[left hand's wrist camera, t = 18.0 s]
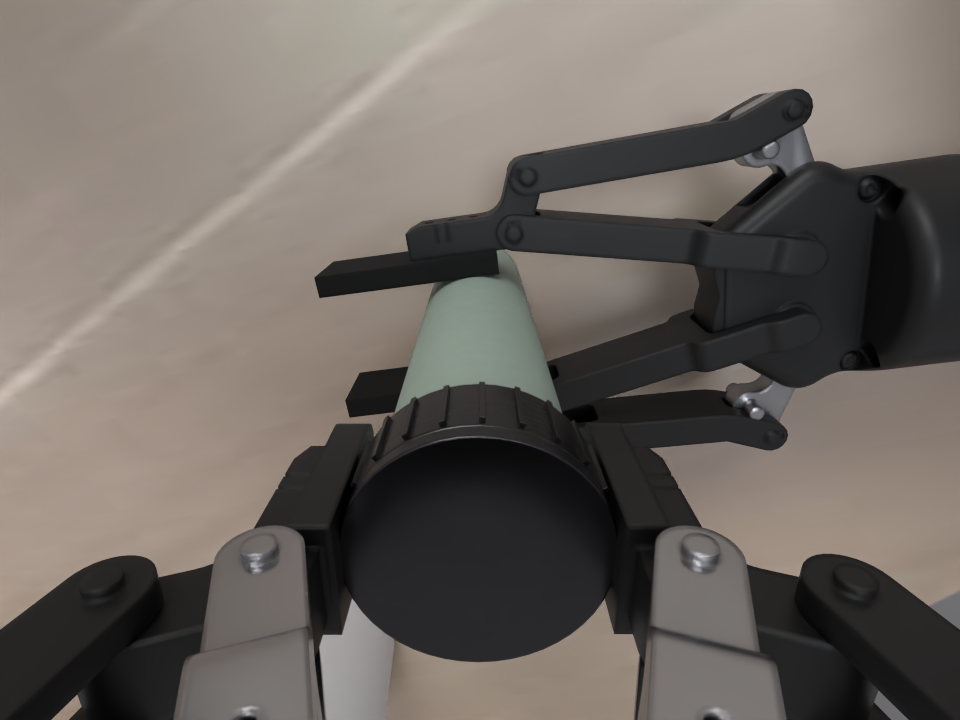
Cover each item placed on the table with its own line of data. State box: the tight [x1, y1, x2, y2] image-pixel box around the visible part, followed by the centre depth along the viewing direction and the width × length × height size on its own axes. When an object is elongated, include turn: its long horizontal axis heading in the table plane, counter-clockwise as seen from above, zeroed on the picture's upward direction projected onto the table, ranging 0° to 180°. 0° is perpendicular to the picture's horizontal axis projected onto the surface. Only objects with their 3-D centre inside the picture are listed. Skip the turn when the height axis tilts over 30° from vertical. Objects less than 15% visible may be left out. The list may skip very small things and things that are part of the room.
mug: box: [319, 598, 395, 720], centre depth 31 cm, size 11×9×10 cm
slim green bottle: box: [394, 250, 562, 414], centre depth 19 cm, size 4×4×19 cm
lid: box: [340, 382, 617, 662], centre depth 10 cm, size 5×5×2 cm
